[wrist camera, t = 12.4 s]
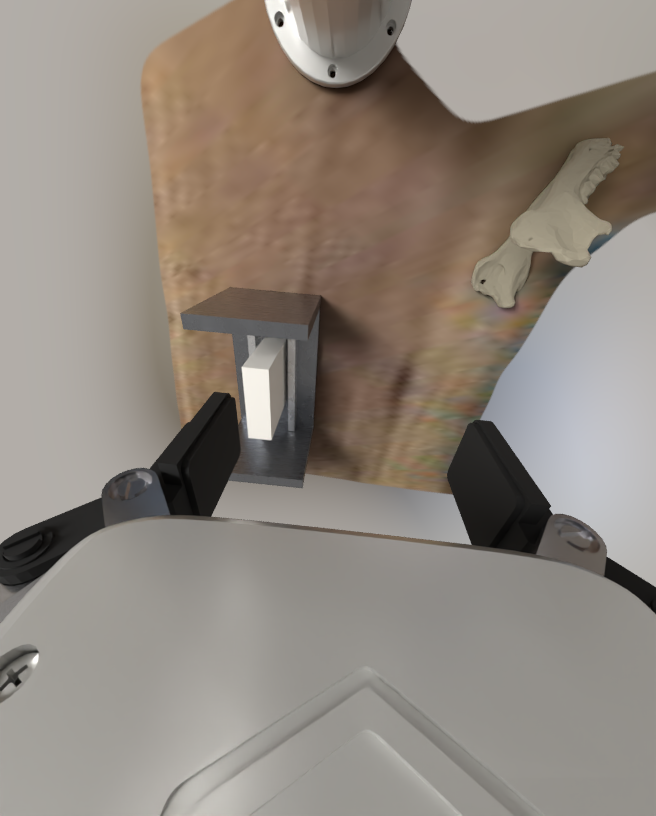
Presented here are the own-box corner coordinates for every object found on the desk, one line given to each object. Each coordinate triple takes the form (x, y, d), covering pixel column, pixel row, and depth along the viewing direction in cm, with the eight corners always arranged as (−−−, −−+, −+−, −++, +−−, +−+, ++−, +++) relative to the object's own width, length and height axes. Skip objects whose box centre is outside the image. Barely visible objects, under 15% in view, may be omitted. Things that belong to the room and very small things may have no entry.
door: (264, 336, 40) (241, 367, 32) (286, 339, 40) (268, 369, 32) (267, 398, 45) (248, 437, 37) (286, 400, 45) (271, 440, 37)
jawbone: (568, 202, 35) (504, 317, 36) (512, 174, 35) (451, 289, 36) (719, 81, 21) (607, 274, 22) (627, 34, 21) (520, 230, 22)
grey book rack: (230, 287, 38) (180, 313, 27) (320, 295, 37) (308, 325, 27) (244, 422, 50) (214, 478, 39) (313, 429, 49) (302, 488, 38)
